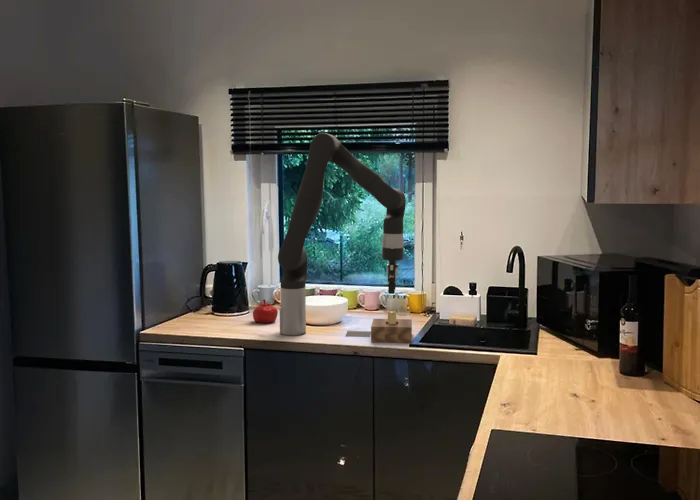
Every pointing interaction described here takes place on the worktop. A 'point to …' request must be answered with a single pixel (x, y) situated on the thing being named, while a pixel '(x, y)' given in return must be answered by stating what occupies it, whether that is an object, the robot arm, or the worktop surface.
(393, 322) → the peg
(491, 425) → the worktop surface
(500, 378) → the worktop surface
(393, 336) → the hole block
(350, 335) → the mat
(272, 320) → the pomegranate
